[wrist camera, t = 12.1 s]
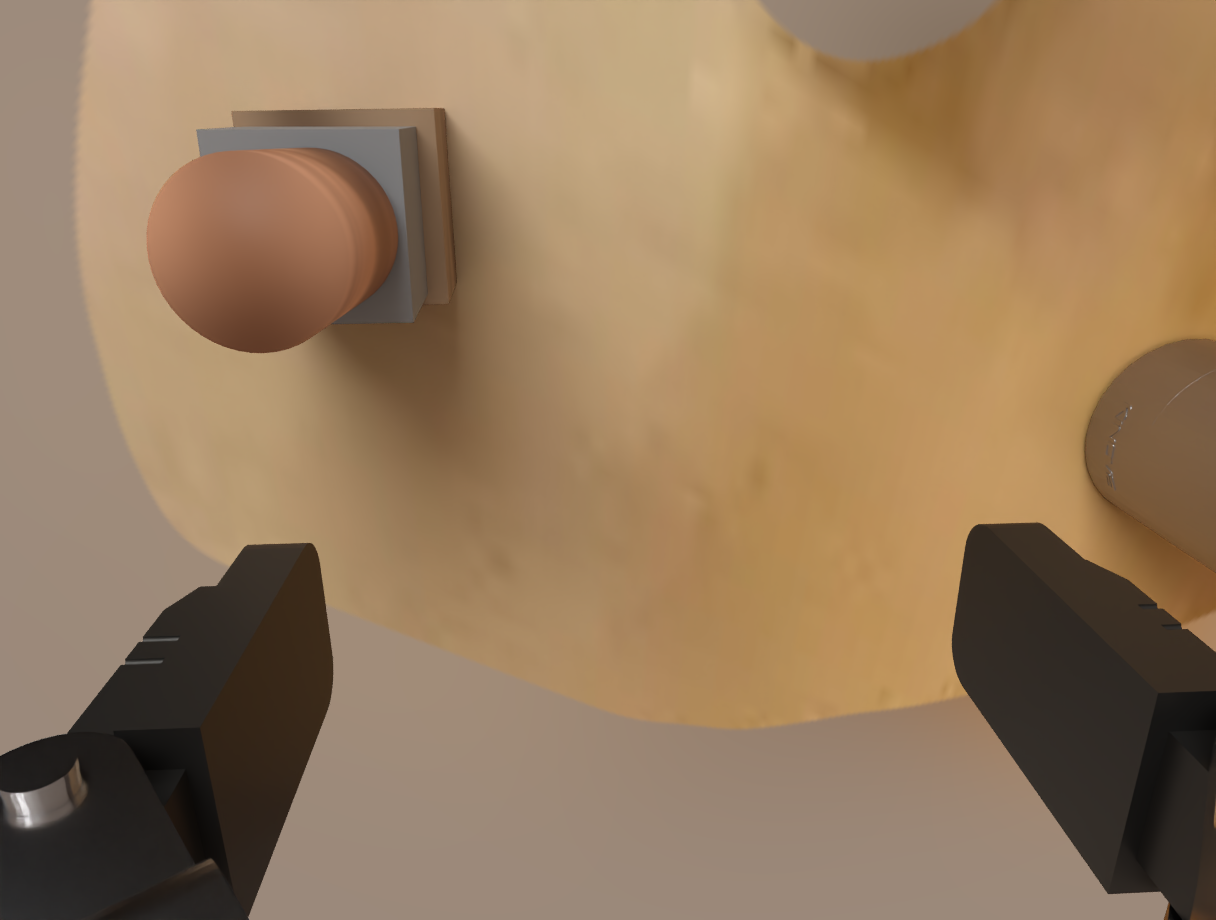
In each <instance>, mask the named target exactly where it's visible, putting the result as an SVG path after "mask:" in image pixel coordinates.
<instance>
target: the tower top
mask: <svg viewBox="0 0 1216 920" xmlns="http://www.w3.org/2000/svg"><path fill="white" fill-rule="evenodd" d="M196 131H197V137H198V144H199V151H200V157H202V156H204V155H208V154H212V153H216V152H223V151H236V150H260V149H283V148H306V147H307V148H321V149H327V150H331V151H334V152H337V153H340V154H342V155H344V156H347V157H349V158H350V159H352V160H354V161H355V162H357V163H358V164H360V165H361V166H362V167H364V168H365V169H366V170H367V171H368V172H369V173H370V174H371V175H372V176H373V177H374V178H375V179H376V180H377V182H378V183H379V184H380V185H381V187H382V188H383V190H384V191H385V193H386V195H387V196H388V198H389V201H390V203H391V205H392V207H393V211H394V214H395V217H396V222H397V228H398V247H397V253H396V258H395V261H394V264H393V267H392V270H391V271H390V273H389V275H388V277H387V279H386V280H385V282H384V283H383V284H382V286H381V287H380V288H379V289H378V290H377V291H376V292H375V293H374V294H373V295H371V296H370V297H369V298H368V299H366V300H365V301H363V302H362V303H360V304H359V305H357V306H356V307H355V308H353V309H352V310H350V311H349V312H347V313H346V314H344V315H343V316H342V317H340V318H339V319H337V320H336V321H334V322H333V323H331V324H366V323H414V321H415V319H416V317H417V315H418V313H419V311H420V309H421V307H422V305H423V303H424V301H425V299H426V297H427V295H428V290H427V276H426V262H425V248H424V233H423V219H422V205H421V191H420V177H419V163H418V149H417V135H416V126H412V127H230V128H214V129H198V130H196Z"/></svg>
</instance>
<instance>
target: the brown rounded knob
mask: <svg viewBox="0 0 1216 920" xmlns="http://www.w3.org/2000/svg"><path fill="white" fill-rule="evenodd" d="M397 247H398V228H397V222H396V217H395V214H394V211H393V207H392V205H391V203H390V201H389V198H388V196H387V195H386V193H385V191H384V190H383V188H382V187H381V185H380V184H379V183H378V182H377V180H376V179H375V178H374V177H373V176H372V175H371V174H370V173H369V172H368V171H367V170H366V169H365V168H364V167H362V166H361V165H360V164H358V163H357V162H355V161H354V160H352V159H350V158H349V157H347V156H344V155H342V154H340V153H337V152H334V151H331V150H327V149H321V148H307V147H306V148H283V149H260V150H236V151H223V152H216V153H212V154H208V155H204V156H202V157H199V158H197V159H195V160H192V161H191V162H189V163H187V164H186V165H184V166H183V167H181V168H180V169H179V170H178V171H176V172H175V173H174V174H173V175H172V176H171V177H170V178H169V179H168V180H167V182H166V183H165V184H164V185H163V187H162V188H161V190H160V191H159V193H158V195H157V196H156V199H155V201H154V203H153V206H152V208H151V212H150V216H149V219H148V226H147V251H148V259H149V263H150V266H151V270H152V273H153V276H154V278H155V281H156V283H157V286H158V287H159V289H160V291H161V293H162V295H163V297H164V298H165V300H166V301H167V302H168V304H169V305H170V307H171V308H172V309H173V310H174V312H175V313H176V314H177V315H178V316H179V317H180V318H181V319H182V320H183V321H184V322H185V323H186V324H187V325H188V326H190V327H191V328H192V329H193V330H195V331H196V332H198V333H199V334H200V335H202V336H203V337H205V338H207V339H209V340H211V341H212V342H214V343H217V344H219V345H222V346H224V347H227V348H230V349H234V350H238V351H243V352H250V353H269V352H277V351H281V350H286V349H289V348H292V347H294V346H297V345H299V344H301V343H303V342H305V341H306V340H308V339H310V338H311V337H313V336H314V335H316V334H317V333H318V332H320V331H321V330H323V329H324V328H326V327H327V326H329V325H330V324H331V323H333V322H334V321H336V320H337V319H339V318H340V317H342V316H343V315H344V314H346V313H347V312H349V311H350V310H352V309H353V308H355V307H356V306H357V305H359V304H360V303H362V302H363V301H365V300H366V299H368V298H369V297H370V296H371V295H373V294H374V293H375V292H376V291H377V290H378V289H379V288H380V287H381V286H382V284H383V283H384V282H385V280H386V279H387V277H388V275H389V273H390V271H391V270H392V267H393V264H394V261H395V258H396V253H397Z"/></svg>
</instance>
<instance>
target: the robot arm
mask: <svg viewBox="0 0 1216 920" xmlns="http://www.w3.org/2000/svg"><path fill="white" fill-rule="evenodd" d="M1085 455H1086V461H1087V467H1088V471H1089V474H1090V476H1091V478H1092V481H1093V483H1094V485H1095V486H1096V488H1097V489H1098V490H1099V492H1100V493H1101V494H1102V495H1103V497H1104V498H1106V499H1107V500H1108V501H1110V502H1111V503H1112V504H1114V505H1115V506H1117V507H1118V508H1120V509H1121V510H1123V511H1124V512H1126V513H1127V514H1129V515H1130V516H1132V517H1133V518H1135V519H1136V520H1138V521H1139V522H1141V523H1142V524H1144V525H1145V526H1147V527H1148V528H1150V529H1151V530H1153V531H1154V532H1156V533H1157V534H1158V535H1160V536H1161V537H1163V538H1164V539H1166V540H1167V541H1169V542H1170V543H1172V544H1173V545H1175V546H1176V547H1178V548H1179V549H1181V550H1182V551H1184V552H1185V553H1187V554H1188V555H1190V556H1191V557H1193V558H1194V559H1196V560H1197V561H1199V562H1200V563H1202V564H1203V565H1205V566H1206V567H1208V568H1209V569H1211V570H1212V571H1214V572H1215V573H1216V341H1213V340H1208V339H1189V340H1183V341H1179V342H1174V343H1170V344H1167V345H1164V346H1162V347H1160V348H1158V349H1155V350H1153V351H1151V352H1149V353H1147V354H1145V355H1144V356H1142V357H1141V358H1140V359H1138V360H1137V361H1135V362H1134V363H1132V364H1131V365H1129V366H1128V367H1127V368H1126V369H1125V370H1124V371H1123V372H1122V373H1121V374H1120V375H1119V376H1118V377H1117V378H1116V379H1115V380H1114V381H1113V382H1112V384H1111V385H1110V386H1109V388H1108V389H1107V390H1106V392H1105V393H1104V394H1103V396H1102V397H1101V399H1100V401H1099V403H1098V405H1097V407H1096V409H1095V411H1094V413H1093V415H1092V417H1091V421H1090V425H1089V428H1088V432H1087V436H1086V450H1085ZM952 653H953V660H954V665H955V669H956V673H957V675H958V678H959V680H960V682H961V684H962V686H963V688H964V689H965V691H966V692H967V693H968V695H969V696H970V698H971V699H972V701H973V702H974V703H975V705H976V706H977V707H978V709H979V710H980V711H981V713H982V715H983V716H984V718H985V719H986V720H987V722H988V723H989V725H990V726H991V728H992V729H993V730H994V732H995V733H996V735H997V736H998V738H999V739H1000V740H1001V742H1002V743H1003V745H1004V746H1005V748H1006V749H1007V750H1008V752H1009V753H1010V755H1011V756H1012V757H1013V759H1014V760H1015V762H1016V763H1017V765H1018V766H1019V768H1020V769H1021V770H1022V772H1023V773H1024V775H1025V776H1026V777H1027V779H1028V780H1029V782H1030V783H1031V785H1032V786H1033V787H1034V789H1035V790H1036V791H1037V793H1038V795H1039V796H1040V797H1041V799H1042V800H1043V802H1044V803H1045V805H1046V806H1047V807H1048V809H1049V810H1050V812H1051V813H1052V815H1053V816H1054V817H1055V819H1056V820H1057V822H1058V823H1059V824H1060V826H1061V827H1062V829H1063V830H1064V832H1065V833H1066V835H1067V836H1068V837H1069V839H1070V840H1071V842H1072V843H1073V845H1074V846H1075V847H1076V849H1077V850H1078V852H1079V853H1080V854H1081V856H1082V857H1083V859H1084V860H1085V861H1086V863H1087V864H1088V866H1089V867H1090V869H1091V870H1092V871H1093V873H1094V874H1095V876H1096V877H1097V879H1098V880H1099V882H1100V883H1101V884H1102V886H1103V887H1104V889H1105V890H1106V891H1107V893H1108V894H1120V893H1140V892H1161V893H1162V894H1163V895H1164V896H1165V898H1166V899H1167V900H1168V902H1169V903H1168V906H1167V910H1166V914H1165V917H1164V920H1216V652H1215V651H1213V650H1212V649H1211V648H1210V647H1209V646H1207V645H1206V644H1205V643H1204V642H1203V641H1201V640H1200V639H1199V638H1198V637H1196V636H1195V635H1194V634H1193V633H1192V632H1190V631H1189V630H1188V629H1182V628H1181V623H1180V622H1178V621H1177V620H1176V619H1175V618H1173V617H1172V616H1171V615H1170V614H1169V613H1167V612H1166V611H1165V610H1164V609H1158V608H1157V603H1155V602H1154V601H1153V600H1152V599H1150V598H1149V597H1148V596H1147V595H1146V594H1144V593H1143V592H1142V591H1141V590H1140V589H1138V588H1137V587H1136V586H1135V585H1134V584H1132V583H1131V582H1130V581H1129V580H1127V579H1125V578H1123V577H1121V576H1119V575H1117V574H1115V573H1113V572H1111V571H1108V570H1106V569H1104V568H1102V567H1100V566H1098V565H1096V564H1094V563H1092V562H1090V561H1088V560H1085V559H1083V558H1082V557H1081V556H1080V555H1079V554H1078V553H1076V552H1075V551H1074V550H1073V549H1072V548H1071V547H1069V546H1068V545H1067V544H1066V543H1065V542H1064V541H1062V540H1061V539H1060V538H1059V537H1058V536H1057V535H1055V534H1054V533H1053V532H1052V531H1051V530H1050V529H1048V528H1047V527H1046V526H1045V525H1043V524H1041V523H1007V524H978V525H976V526H975V527H973V528H972V530H971V531H970V533H969V535H968V538H967V541H966V546H965V552H964V559H963V566H962V572H961V579H960V586H959V593H958V599H957V606H956V613H955V620H954V627H953V634H952ZM125 661H126V662H125V665H121V666H120V667H119V668H118V669H117V670H116V672H115V673H114V674H113V676H112V677H111V678H110V679H109V681H108V682H107V683H106V684H105V686H104V687H103V688H102V690H101V691H100V692H99V693H98V695H97V696H96V697H95V698H94V700H93V701H92V702H91V704H90V705H89V706H88V707H87V709H86V710H85V711H84V713H83V714H82V715H81V716H80V718H79V719H78V720H77V721H76V723H75V724H74V725H73V726H72V728H71V729H70V730H69V732H68V733H67V734H62V735H56V736H52V737H48V738H44V739H40V740H37V741H34V742H31V743H29V744H25V745H23V746H20V747H18V748H16V749H13V750H11V751H9V752H7V753H5V754H3V755H1V756H0V920H249V918H248V916H249V914H250V911H251V908H252V906H253V903H254V901H255V898H256V896H257V893H258V890H259V887H260V885H261V882H262V880H263V877H264V875H265V872H266V869H267V867H268V864H269V862H270V859H271V856H272V854H273V851H274V848H275V846H276V843H277V841H278V838H279V835H280V833H281V830H282V828H283V825H284V823H285V820H286V817H287V815H288V812H289V809H290V807H291V804H292V801H293V799H294V796H295V794H296V791H297V788H298V786H299V783H300V781H301V778H302V775H303V773H304V770H305V768H306V765H307V762H308V760H309V757H310V755H311V752H312V749H313V747H314V744H315V742H316V739H317V736H318V734H319V731H320V729H321V726H322V723H323V721H324V718H325V715H326V713H327V710H328V707H329V704H330V699H331V693H332V685H333V656H332V649H331V642H330V634H329V627H328V619H327V612H326V604H325V597H324V590H323V582H322V575H321V568H320V562H319V557H318V553H317V551H316V548H315V547H314V545H313V544H311V543H295V544H262V545H247V546H245V547H244V548H243V550H242V551H241V552H240V554H239V555H238V557H237V558H236V559H235V561H234V562H233V564H232V565H231V566H230V568H229V569H228V571H227V572H226V573H225V575H224V576H223V578H222V579H221V580H220V582H219V583H218V585H217V586H209V587H208V586H205V587H199V588H197V589H196V590H194V591H193V592H191V593H190V594H188V595H186V596H185V597H184V598H182V599H180V600H179V601H177V602H176V603H174V604H173V605H171V606H169V607H168V608H166V609H165V610H164V611H163V612H162V613H161V615H160V616H159V617H158V618H157V620H156V621H155V622H154V624H153V625H152V626H151V627H150V628H149V630H148V631H147V632H146V634H145V635H144V636H143V642H139V643H138V644H137V645H136V647H135V648H134V649H133V650H132V652H131V653H130V654H129V655H128V657H127V658H126V659H125Z"/></svg>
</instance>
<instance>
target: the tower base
mask: <svg viewBox="0 0 1216 920" xmlns="http://www.w3.org/2000/svg"><path fill="white" fill-rule="evenodd" d="M231 112H232V119H233V125H234V127H412V126H416V135H417V149H418V163H419V177H420V191H421V205H422V219H423V233H424V248H425V262H426V276H427V290H428V295H427V297H426V299H425V301H424V303H423V305H428V304H449V302H450V299H451V297H452V294H453V291H454V288H455V286H456V283H457V275H456V262H455V248H454V235H453V221H452V207H451V194H450V180H449V167H448V153H447V139H446V126H445V112H444V108H410V109H343V110H277V111H231Z"/></svg>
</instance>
